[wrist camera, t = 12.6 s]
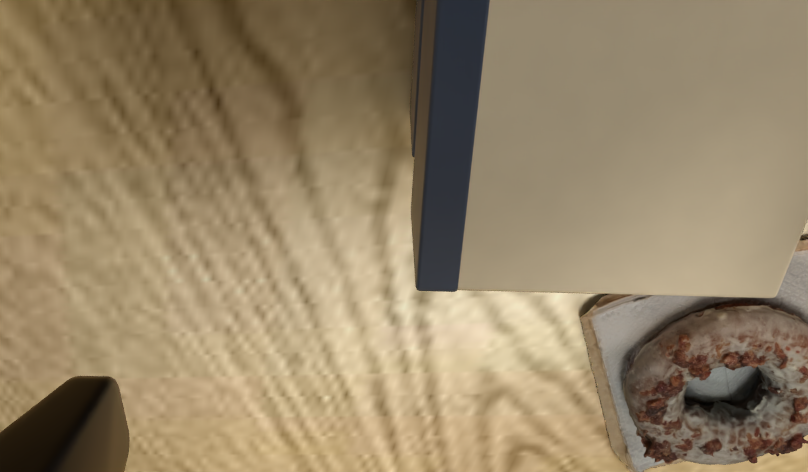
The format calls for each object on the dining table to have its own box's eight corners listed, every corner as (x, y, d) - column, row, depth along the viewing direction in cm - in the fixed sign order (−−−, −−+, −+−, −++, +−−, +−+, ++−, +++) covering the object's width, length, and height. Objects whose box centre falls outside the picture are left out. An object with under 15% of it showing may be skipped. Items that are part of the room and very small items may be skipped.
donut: (573, 298, 21) (589, 343, 20) (848, 226, 20) (891, 269, 18) (617, 474, 26) (634, 525, 24) (846, 424, 24) (881, 474, 23)
